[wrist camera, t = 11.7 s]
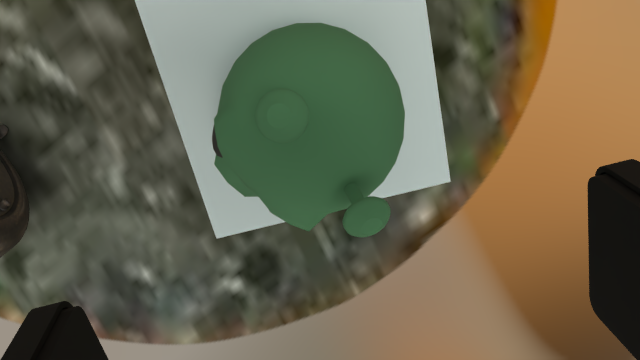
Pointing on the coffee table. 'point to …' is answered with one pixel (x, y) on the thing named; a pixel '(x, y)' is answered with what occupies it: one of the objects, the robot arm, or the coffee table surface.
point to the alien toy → (311, 126)
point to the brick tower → (251, 24)
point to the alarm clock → (11, 203)
